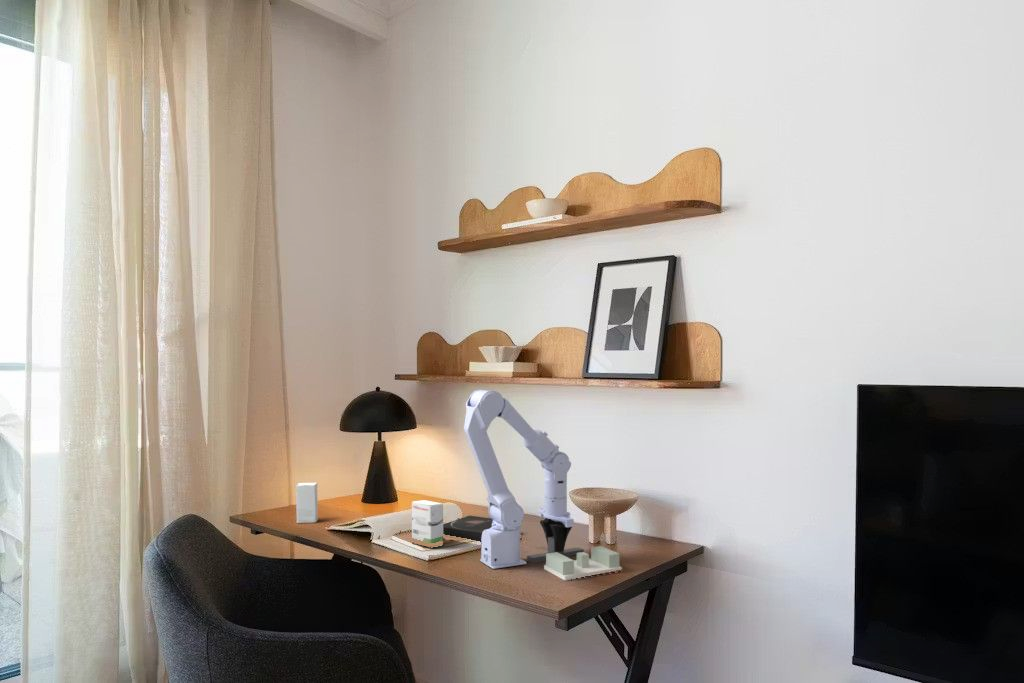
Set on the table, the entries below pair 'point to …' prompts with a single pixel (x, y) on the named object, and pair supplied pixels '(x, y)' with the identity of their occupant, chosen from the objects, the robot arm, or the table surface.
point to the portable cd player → (468, 527)
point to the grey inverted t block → (551, 550)
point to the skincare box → (306, 502)
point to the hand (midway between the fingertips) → (555, 549)
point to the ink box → (427, 521)
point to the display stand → (582, 563)
